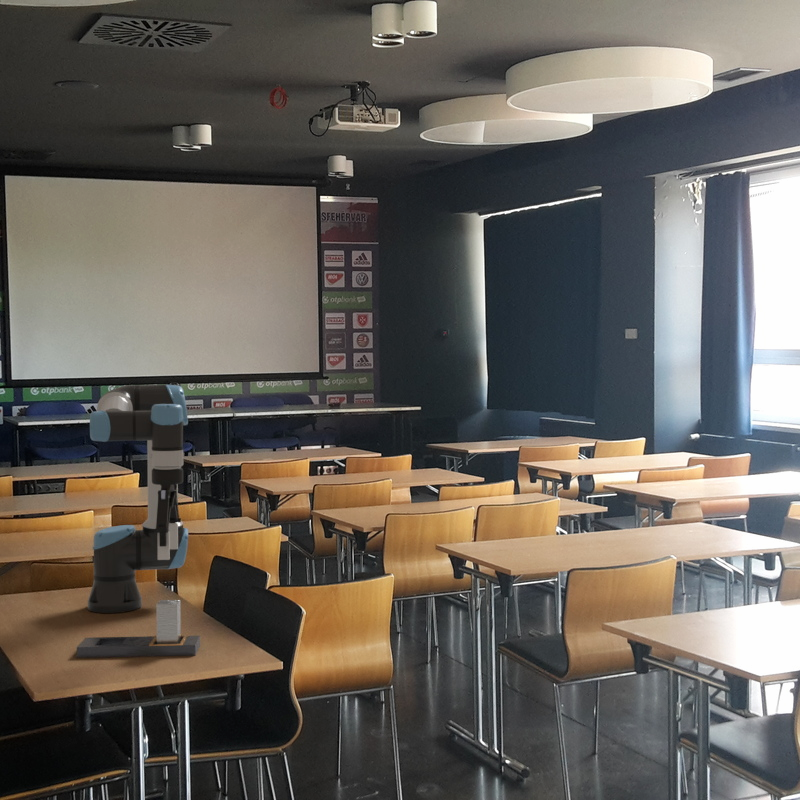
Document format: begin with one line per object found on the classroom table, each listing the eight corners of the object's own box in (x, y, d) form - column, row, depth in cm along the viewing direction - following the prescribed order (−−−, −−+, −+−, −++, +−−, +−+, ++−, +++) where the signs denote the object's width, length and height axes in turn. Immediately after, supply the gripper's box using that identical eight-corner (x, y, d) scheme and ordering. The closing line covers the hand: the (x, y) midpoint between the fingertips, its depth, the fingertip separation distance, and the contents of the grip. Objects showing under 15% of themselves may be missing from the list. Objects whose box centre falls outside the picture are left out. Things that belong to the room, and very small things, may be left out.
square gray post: (160, 648, 255) (159, 600, 254) (180, 648, 255) (180, 599, 255) (156, 653, 250) (156, 604, 249) (177, 653, 250) (177, 604, 250)
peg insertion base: (85, 647, 255) (85, 636, 255) (200, 645, 257) (200, 634, 257) (76, 657, 246) (76, 646, 246) (195, 655, 248) (195, 644, 248)
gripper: (160, 462, 263) (160, 545, 264) (142, 473, 238) (143, 564, 239) (190, 462, 264) (190, 544, 265) (175, 472, 239) (176, 564, 240)
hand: (168, 554), depth 252 cm, fingers open, 13 cm apart
